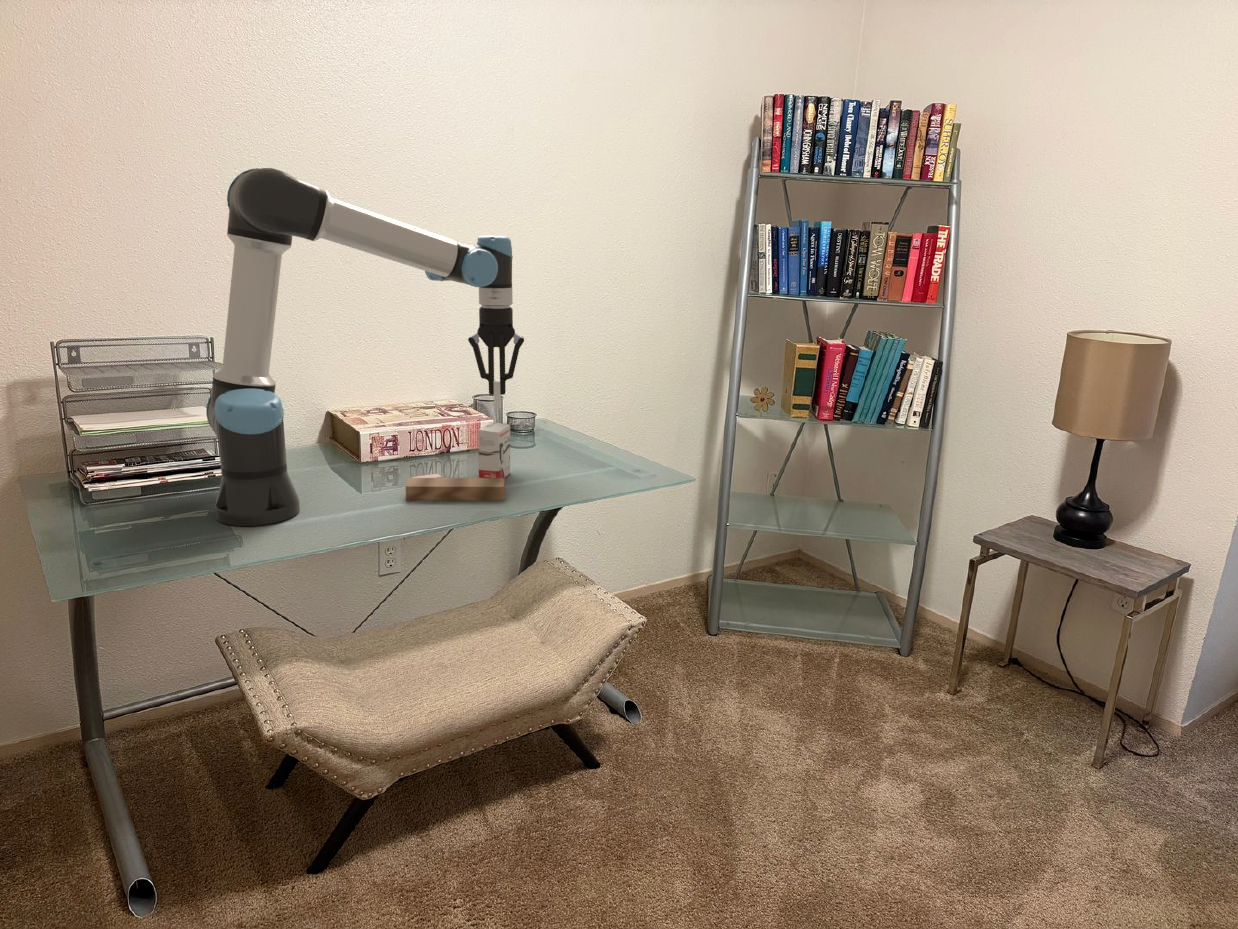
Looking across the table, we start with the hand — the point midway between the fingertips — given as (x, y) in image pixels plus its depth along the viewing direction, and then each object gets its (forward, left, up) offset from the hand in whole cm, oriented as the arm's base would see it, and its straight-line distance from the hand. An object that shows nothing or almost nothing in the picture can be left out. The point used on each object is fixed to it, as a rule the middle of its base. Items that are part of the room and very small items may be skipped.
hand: (497, 408), depth 202 cm
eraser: (-15, -16, -14) cm, 26 cm away
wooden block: (-8, -24, -14) cm, 29 cm away
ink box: (0, -11, -14) cm, 17 cm away
